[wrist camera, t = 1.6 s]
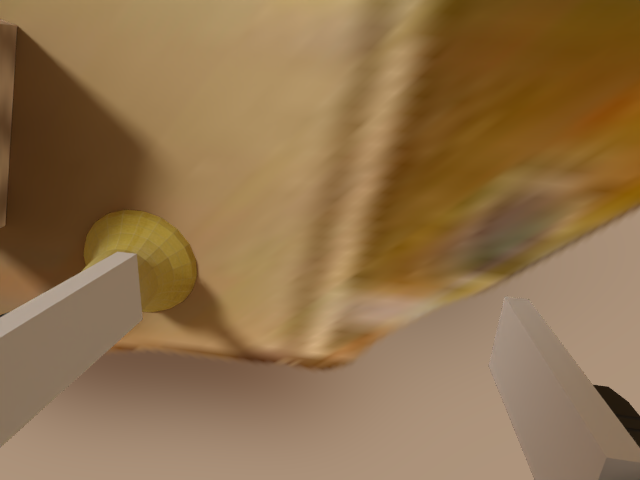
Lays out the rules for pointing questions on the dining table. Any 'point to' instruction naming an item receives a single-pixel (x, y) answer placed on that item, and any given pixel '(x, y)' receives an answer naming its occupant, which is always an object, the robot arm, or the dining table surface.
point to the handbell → (146, 255)
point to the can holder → (6, 106)
